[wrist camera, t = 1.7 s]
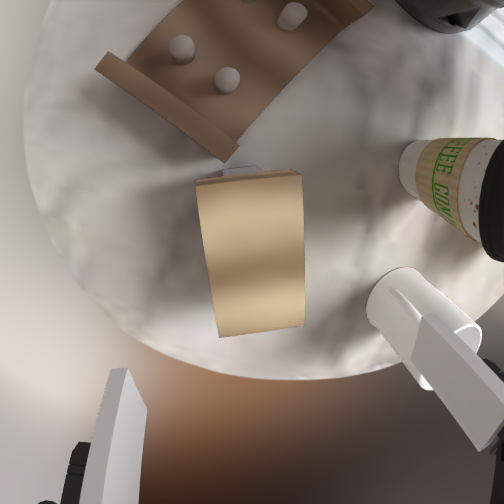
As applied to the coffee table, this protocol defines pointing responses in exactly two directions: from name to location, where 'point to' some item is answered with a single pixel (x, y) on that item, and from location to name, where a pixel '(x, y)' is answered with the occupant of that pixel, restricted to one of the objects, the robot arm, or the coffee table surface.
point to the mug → (414, 314)
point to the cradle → (226, 61)
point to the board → (254, 250)
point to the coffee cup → (460, 185)
